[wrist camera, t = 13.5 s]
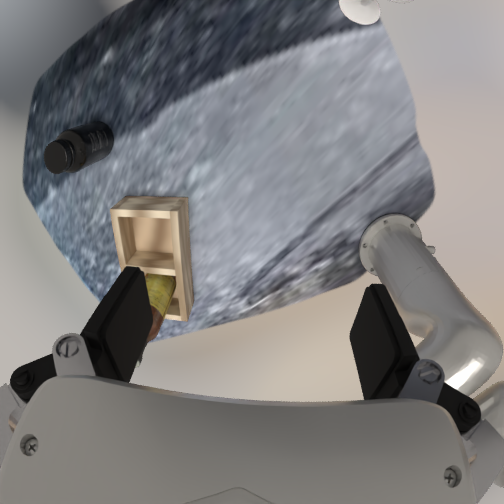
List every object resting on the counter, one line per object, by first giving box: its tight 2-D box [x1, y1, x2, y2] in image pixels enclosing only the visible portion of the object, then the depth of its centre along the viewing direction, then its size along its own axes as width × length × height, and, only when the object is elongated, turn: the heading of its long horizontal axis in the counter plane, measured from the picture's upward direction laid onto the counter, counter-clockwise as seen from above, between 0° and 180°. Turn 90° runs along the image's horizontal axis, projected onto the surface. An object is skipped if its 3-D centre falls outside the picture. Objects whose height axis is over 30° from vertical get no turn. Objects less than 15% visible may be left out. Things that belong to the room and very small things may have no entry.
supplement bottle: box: [44, 122, 113, 174], centre depth 36 cm, size 7×7×12 cm
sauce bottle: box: [135, 273, 177, 368], centre depth 44 cm, size 6×6×20 cm
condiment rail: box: [110, 196, 194, 321], centre depth 49 cm, size 11×22×6 cm, turn 177°
